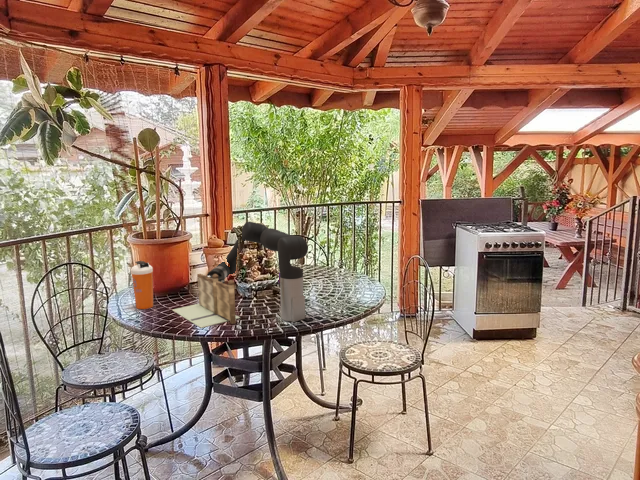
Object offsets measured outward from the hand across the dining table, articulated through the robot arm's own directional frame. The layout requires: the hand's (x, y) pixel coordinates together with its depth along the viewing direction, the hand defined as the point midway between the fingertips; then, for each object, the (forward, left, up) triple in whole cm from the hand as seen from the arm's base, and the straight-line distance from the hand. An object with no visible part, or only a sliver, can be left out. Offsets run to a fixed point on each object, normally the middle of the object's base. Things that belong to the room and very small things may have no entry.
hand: (205, 285), depth 198 cm
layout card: (-13, +7, -8) cm, 17 cm away
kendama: (-1, -43, -9) cm, 44 cm away
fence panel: (-8, +3, -7) cm, 12 cm away
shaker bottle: (+14, +22, -8) cm, 28 cm away
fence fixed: (-23, +3, -8) cm, 25 cm away
